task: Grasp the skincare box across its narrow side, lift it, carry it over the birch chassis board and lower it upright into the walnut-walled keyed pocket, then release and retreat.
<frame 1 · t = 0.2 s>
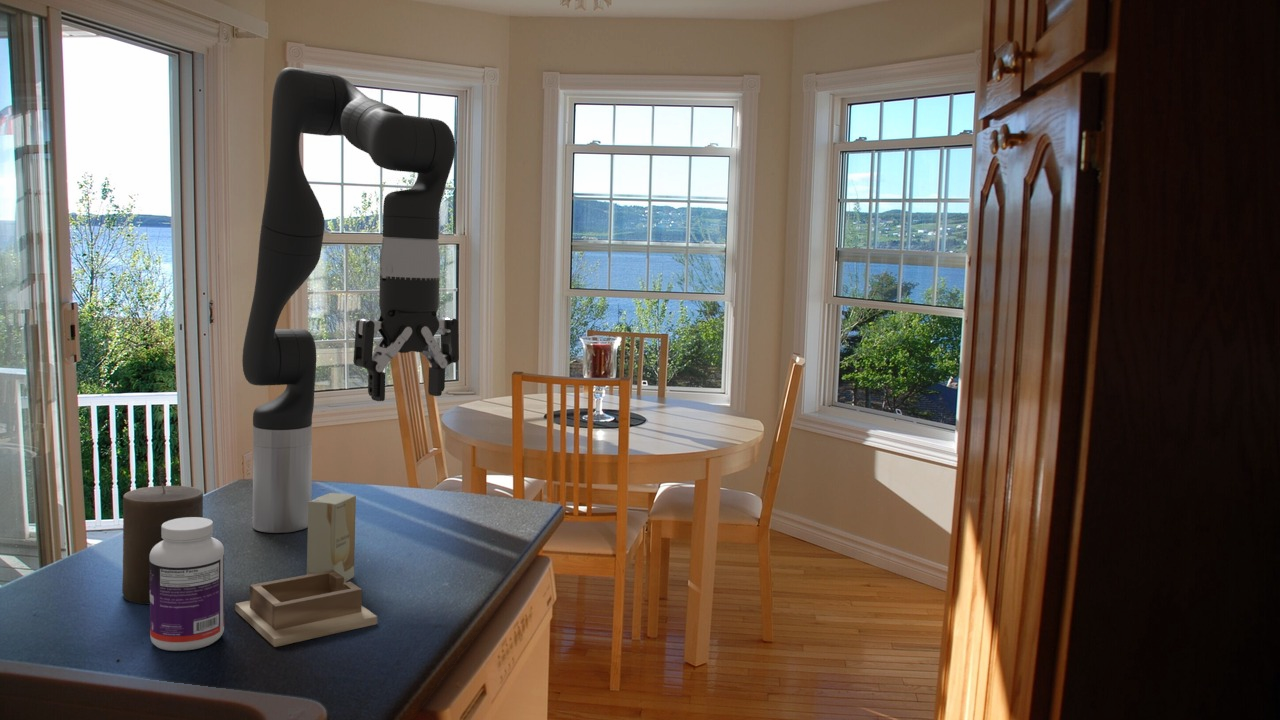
hand: (406, 397, 127), 28 cm above the kitchen counter, fingers open, 8 cm apart
pill bottle: (187, 642, 116), on the kitchen counter
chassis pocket: (305, 617, 125), on the kitchen counter
pillar candle: (164, 593, 131), on the kitchen counter
skincare box: (331, 583, 138), on the kitchen counter
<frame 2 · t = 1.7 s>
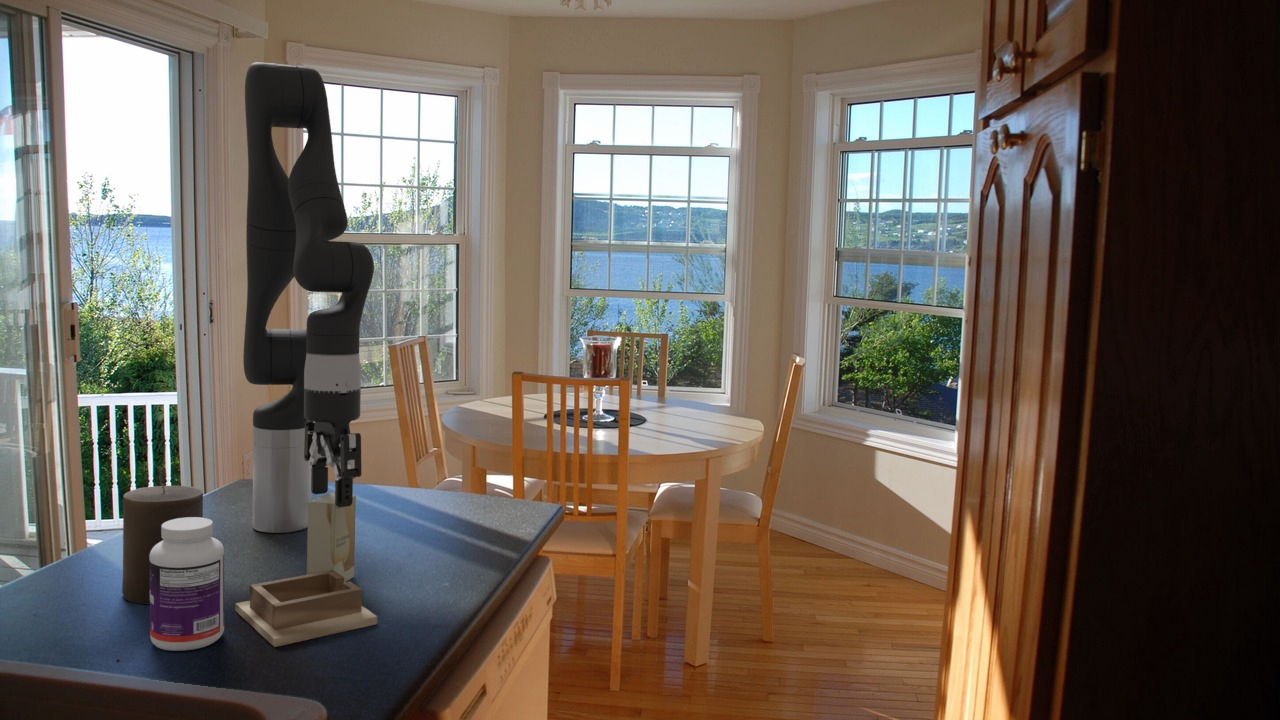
hand: (331, 499, 136), 12 cm above the kitchen counter, fingers open, 8 cm apart
nothing on the kitchen counter moved.
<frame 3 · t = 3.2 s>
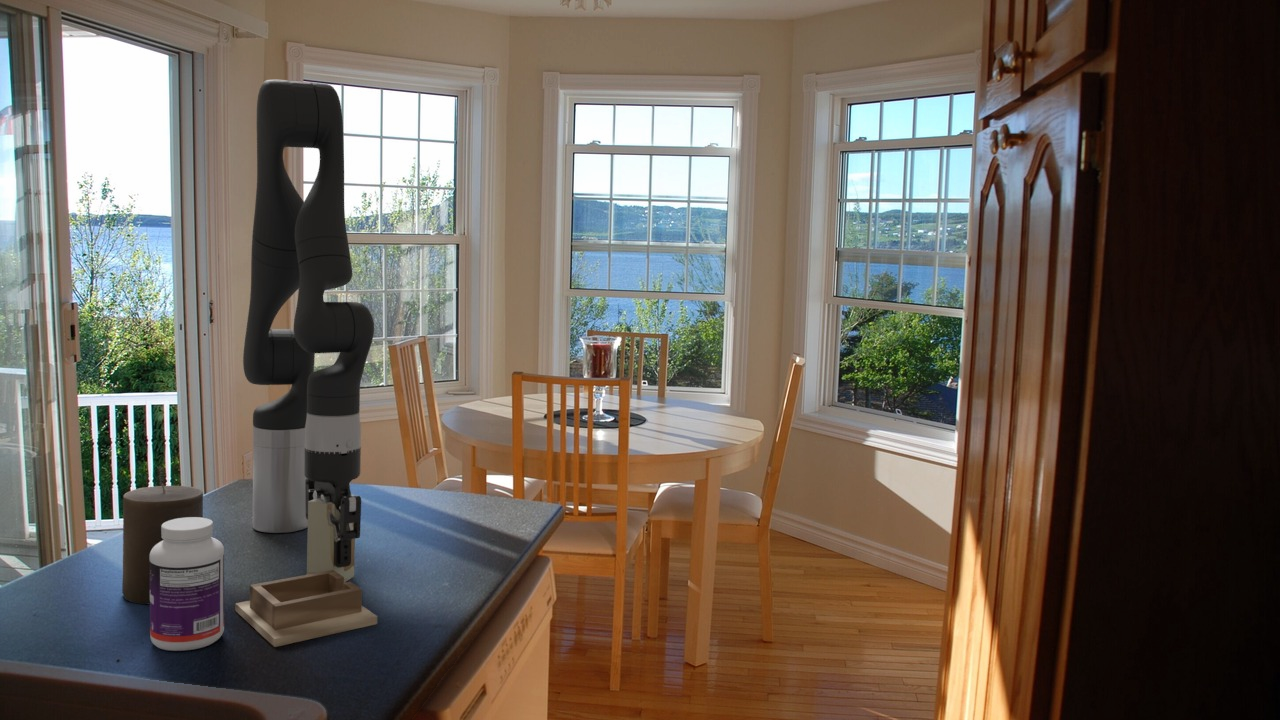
hand: (331, 558, 138), 3 cm above the kitchen counter, fingers closed on skincare box, 7 cm apart
skincare box: (331, 582, 138), on the kitchen counter, touching gripper
everything else where it was.
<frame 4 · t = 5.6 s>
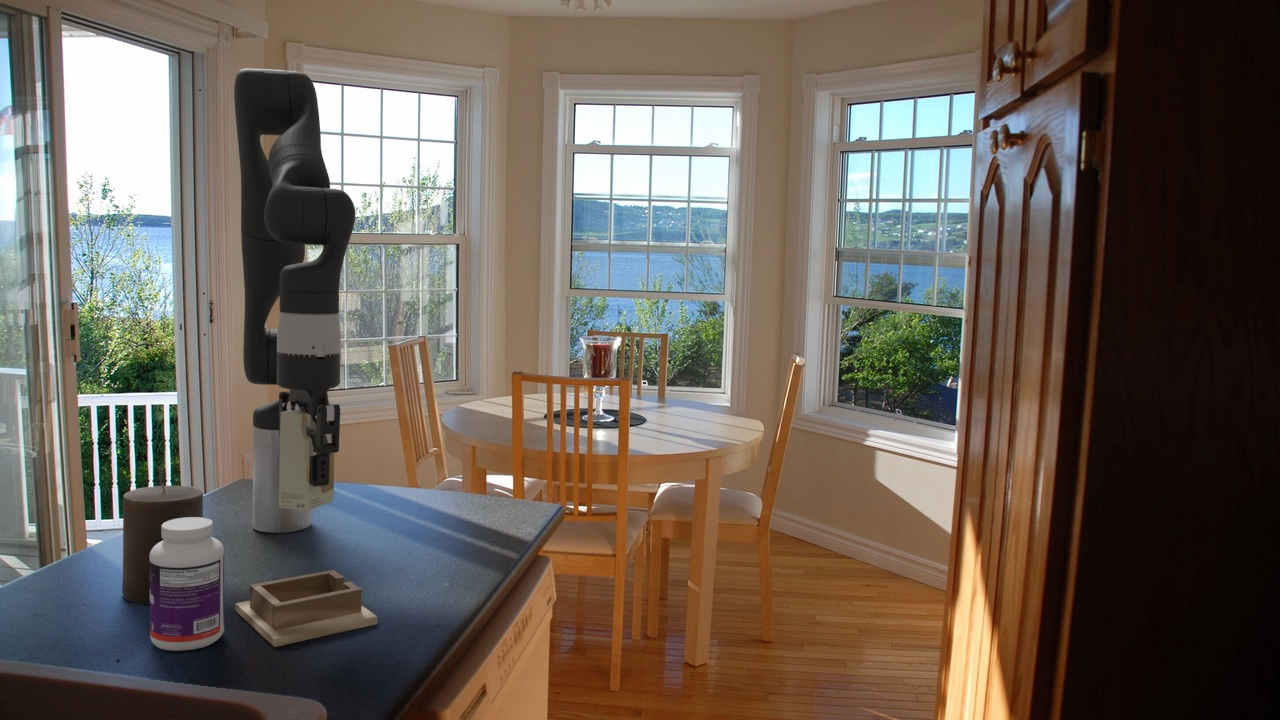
hand: (307, 479, 123), 18 cm above the kitchen counter, fingers closed on skincare box, 7 cm apart
skincare box: (307, 506, 123), point 15 cm above the kitchen counter, touching gripper
everything else where it was.
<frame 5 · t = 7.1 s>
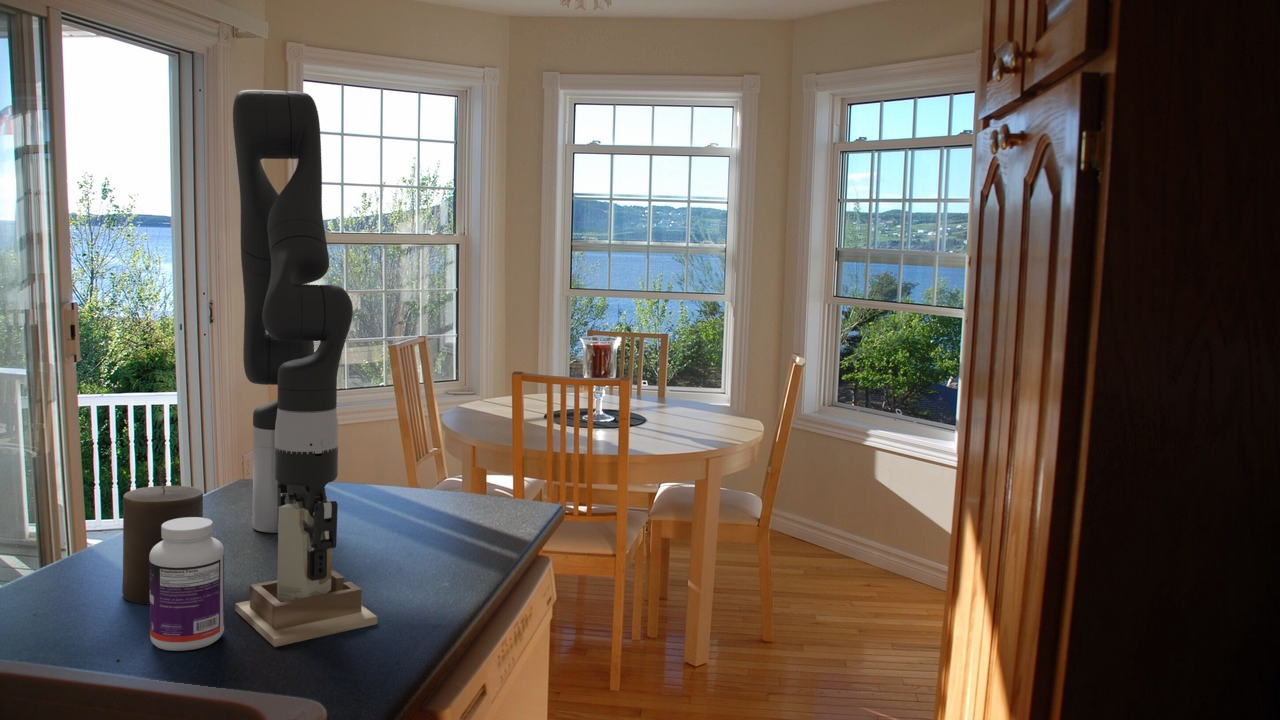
hand: (305, 570, 124), 6 cm above the kitchen counter, fingers closed on skincare box, 7 cm apart
skincare box: (305, 597, 124), point 3 cm above the kitchen counter, touching gripper
everything else where it was.
when the fingers open (6 cm above the kitchen counter, at t = 8.2 s): skincare box drops 1 cm, resting on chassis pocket.
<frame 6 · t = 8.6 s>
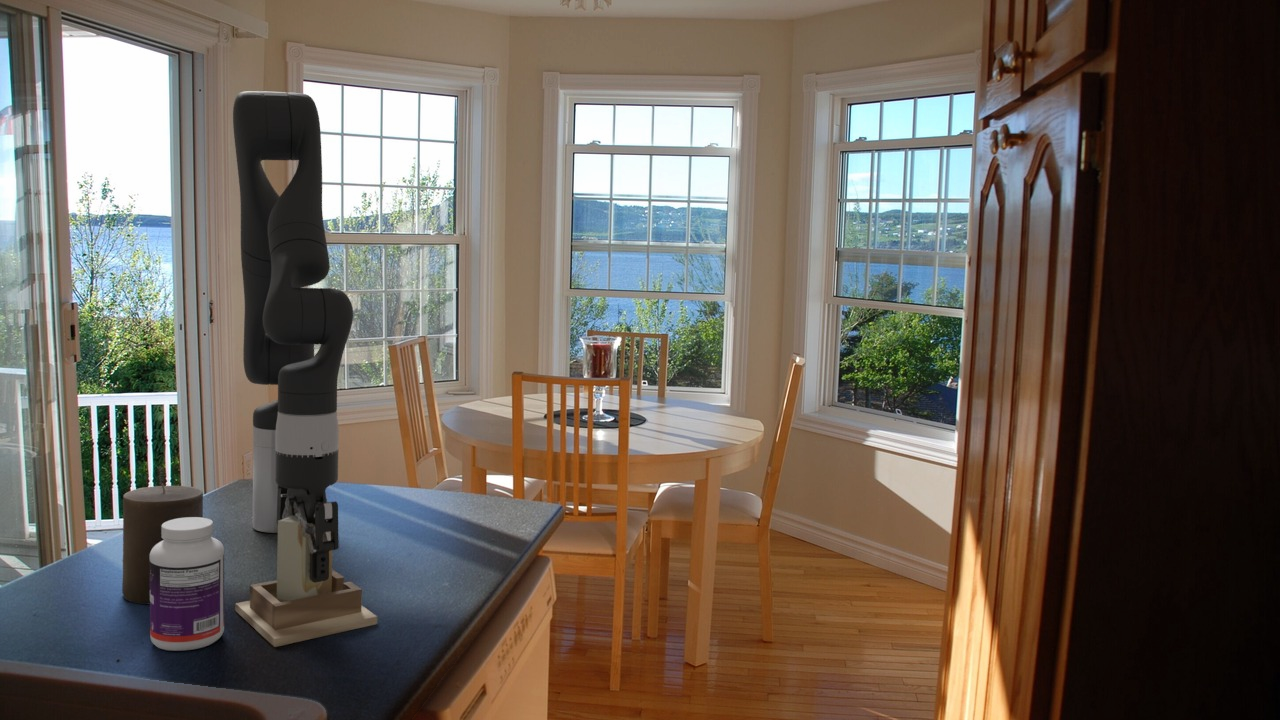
hand: (306, 571, 124), 6 cm above the kitchen counter, fingers open, 8 cm apart
skincare box: (304, 610, 125), point 1 cm above the kitchen counter, touching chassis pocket
everything else where it was.
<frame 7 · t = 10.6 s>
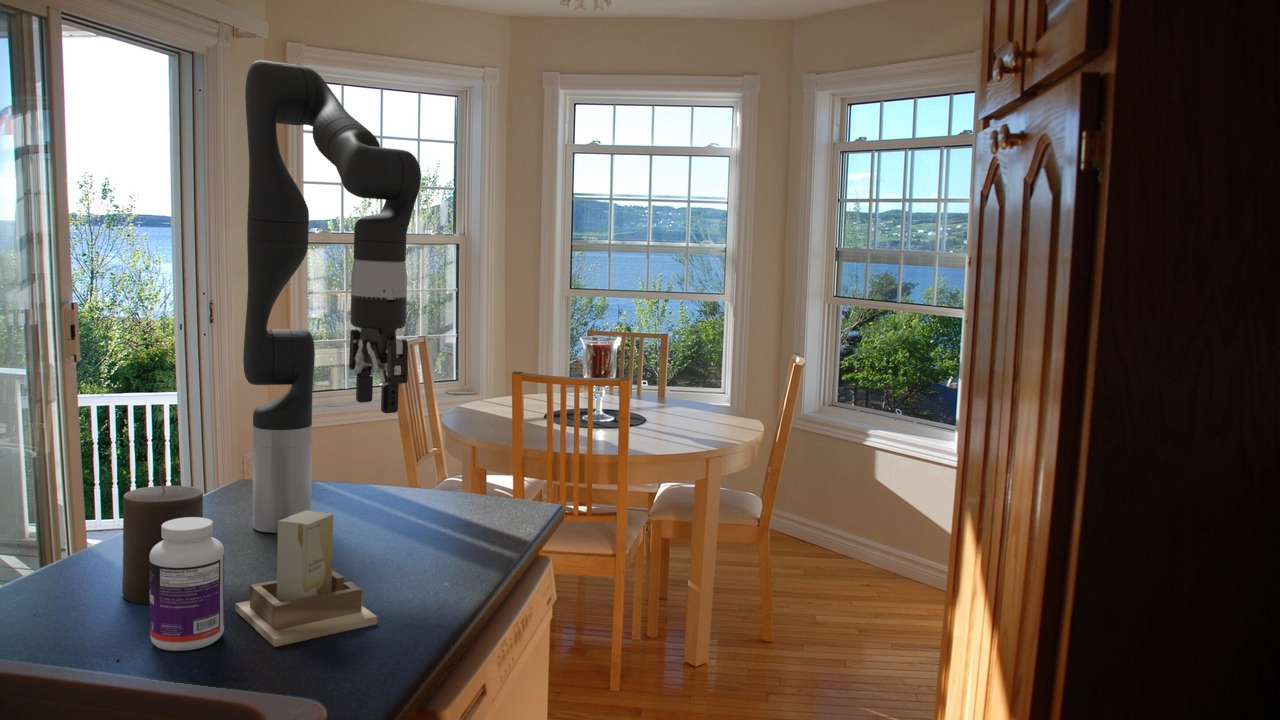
hand: (376, 407, 138), 25 cm above the kitchen counter, fingers open, 8 cm apart
nothing on the kitchen counter moved.
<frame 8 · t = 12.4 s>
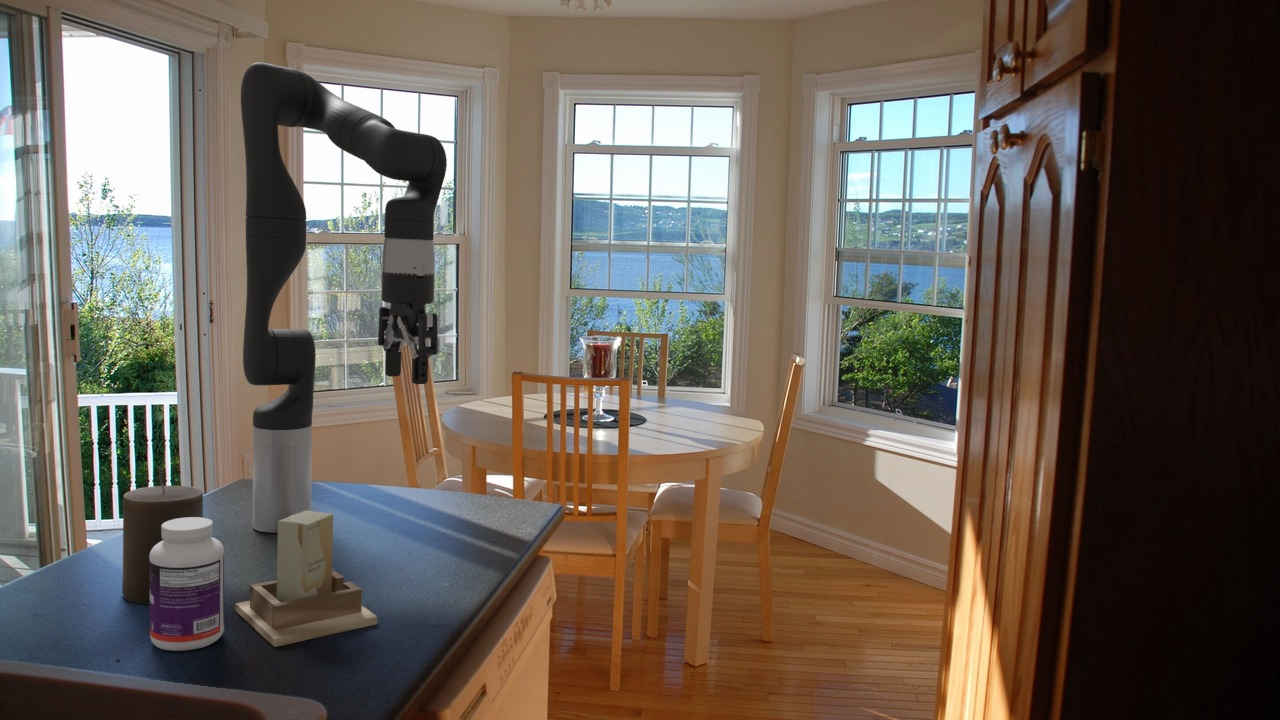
hand: (406, 379, 144), 28 cm above the kitchen counter, fingers open, 8 cm apart
nothing on the kitchen counter moved.
at the end: skincare box 0.2 cm off-centre on the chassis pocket, point 0.8 cm above the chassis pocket's base; skincare box tilted 0°; the gripper is holding nothing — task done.
